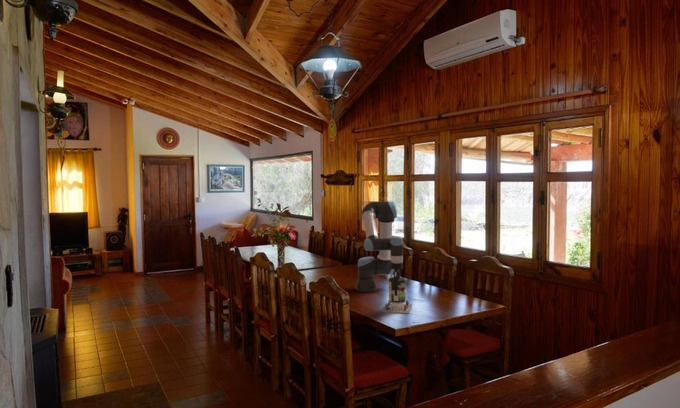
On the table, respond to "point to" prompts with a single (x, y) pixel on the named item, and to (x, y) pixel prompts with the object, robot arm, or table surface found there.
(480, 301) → the table surface
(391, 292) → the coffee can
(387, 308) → the pin plate
